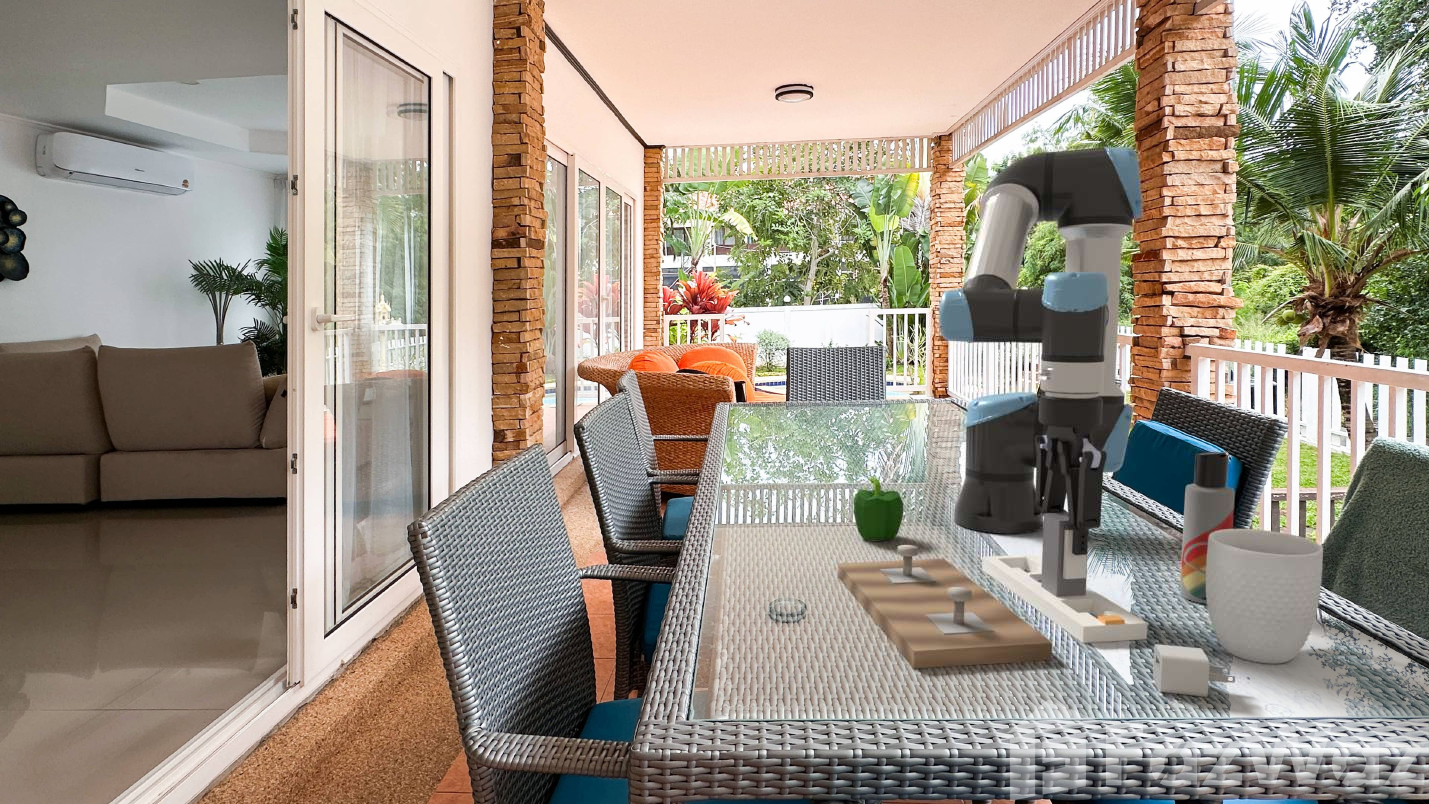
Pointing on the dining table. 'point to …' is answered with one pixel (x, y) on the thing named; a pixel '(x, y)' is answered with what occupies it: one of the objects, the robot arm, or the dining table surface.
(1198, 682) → the usb wall charger
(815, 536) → the dining table surface
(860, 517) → the bell pepper
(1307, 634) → the mug
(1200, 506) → the lotion bottle
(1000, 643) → the pin board
